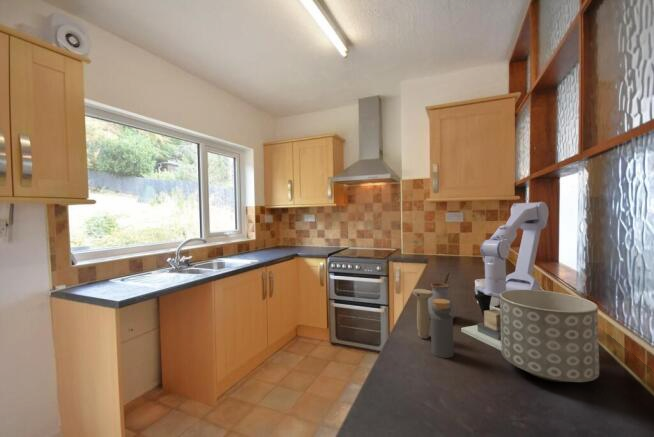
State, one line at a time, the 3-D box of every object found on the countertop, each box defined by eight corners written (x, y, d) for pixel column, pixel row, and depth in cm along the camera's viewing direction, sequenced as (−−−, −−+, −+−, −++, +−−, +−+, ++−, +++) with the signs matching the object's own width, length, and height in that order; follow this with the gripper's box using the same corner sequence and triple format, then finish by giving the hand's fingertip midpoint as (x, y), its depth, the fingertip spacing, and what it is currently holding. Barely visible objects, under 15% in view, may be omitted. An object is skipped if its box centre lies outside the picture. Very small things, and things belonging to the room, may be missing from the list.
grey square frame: (498, 327, 96) (498, 319, 96) (520, 335, 89) (520, 327, 89) (477, 331, 93) (477, 323, 93) (498, 340, 86) (498, 332, 86)
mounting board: (490, 325, 100) (489, 305, 100) (536, 344, 85) (536, 320, 85) (461, 331, 96) (460, 310, 96) (504, 352, 81) (503, 327, 81)
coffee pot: (452, 326, 101) (451, 284, 101) (420, 320, 108) (419, 280, 108) (464, 309, 118) (463, 273, 118) (435, 305, 125) (435, 271, 125)
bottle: (452, 350, 83) (451, 298, 83) (454, 359, 78) (453, 304, 78) (431, 347, 85) (430, 297, 85) (431, 356, 80) (430, 303, 79)
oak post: (494, 330, 93) (494, 309, 93) (507, 335, 89) (506, 313, 89) (484, 332, 92) (484, 310, 92) (496, 337, 88) (496, 315, 88)
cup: (506, 307, 120) (506, 283, 120) (482, 307, 120) (482, 284, 120) (493, 300, 130) (492, 278, 130) (471, 300, 130) (470, 279, 130)
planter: (608, 407, 57) (606, 317, 57) (498, 378, 68) (497, 303, 68) (591, 366, 73) (589, 295, 73) (503, 348, 84) (502, 286, 84)
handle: (428, 342, 88) (427, 294, 88) (410, 336, 93) (409, 290, 93) (436, 337, 92) (435, 291, 92) (418, 332, 96) (417, 288, 96)
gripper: (467, 274, 96) (468, 314, 96) (507, 283, 82) (508, 330, 83) (483, 272, 99) (484, 311, 99) (524, 281, 85) (525, 326, 85)
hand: (496, 320), depth 91 cm, fingers open, 7 cm apart
